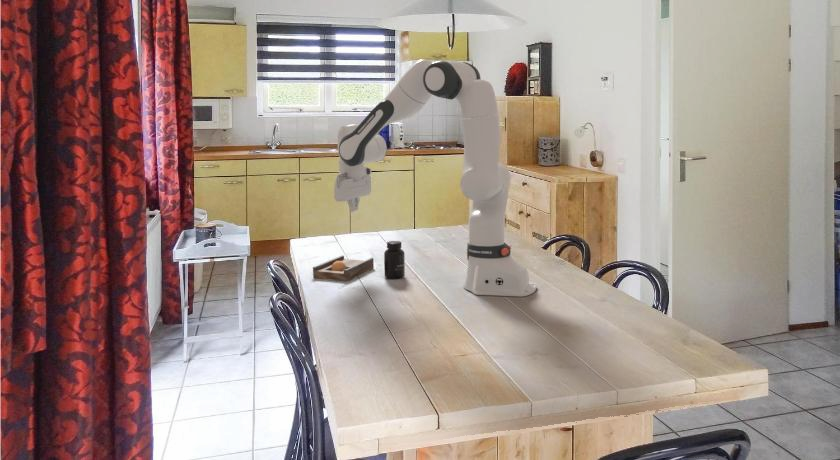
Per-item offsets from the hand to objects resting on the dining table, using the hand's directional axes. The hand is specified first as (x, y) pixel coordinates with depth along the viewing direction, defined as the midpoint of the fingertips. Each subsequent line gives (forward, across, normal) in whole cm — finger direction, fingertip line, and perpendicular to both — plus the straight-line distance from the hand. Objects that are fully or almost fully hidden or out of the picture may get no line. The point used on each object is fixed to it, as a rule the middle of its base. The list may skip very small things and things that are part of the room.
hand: (354, 210), depth 236 cm
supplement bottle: (+21, -7, -18) cm, 29 cm away
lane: (+20, -8, +1) cm, 22 cm away
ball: (+18, -11, +1) cm, 21 cm away
